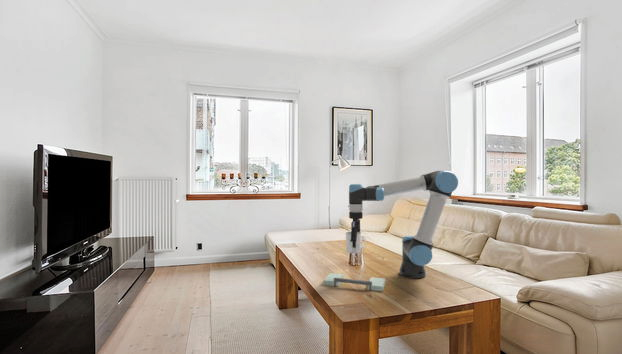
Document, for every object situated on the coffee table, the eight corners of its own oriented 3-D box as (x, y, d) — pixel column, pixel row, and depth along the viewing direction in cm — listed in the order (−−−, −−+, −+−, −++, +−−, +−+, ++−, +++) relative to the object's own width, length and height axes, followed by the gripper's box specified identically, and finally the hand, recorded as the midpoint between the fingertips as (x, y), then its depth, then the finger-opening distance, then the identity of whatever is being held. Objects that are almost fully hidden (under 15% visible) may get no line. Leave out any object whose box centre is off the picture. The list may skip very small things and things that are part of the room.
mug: (369, 252, 180) (369, 233, 180) (348, 254, 178) (348, 234, 177) (363, 249, 189) (363, 230, 188) (343, 250, 186) (343, 232, 186)
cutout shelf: (385, 283, 179) (385, 275, 179) (382, 291, 167) (382, 283, 167) (329, 277, 190) (329, 270, 190) (323, 284, 177) (323, 277, 177)
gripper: (353, 209, 193) (353, 246, 194) (345, 213, 173) (345, 255, 173) (365, 209, 191) (365, 247, 191) (358, 214, 171) (359, 256, 171)
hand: (356, 251), depth 182 cm, fingers closed on mug, 9 cm apart
